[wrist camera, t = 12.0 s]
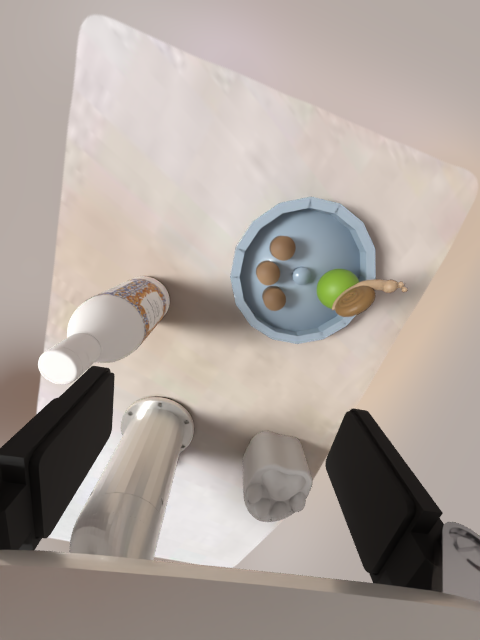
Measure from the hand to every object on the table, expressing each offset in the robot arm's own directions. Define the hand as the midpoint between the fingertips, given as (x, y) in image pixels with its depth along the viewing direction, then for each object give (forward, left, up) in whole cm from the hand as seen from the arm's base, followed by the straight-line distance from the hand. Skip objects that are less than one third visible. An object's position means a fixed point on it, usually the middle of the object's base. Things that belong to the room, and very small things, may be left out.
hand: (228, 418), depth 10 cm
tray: (+3, -9, -28) cm, 30 cm away
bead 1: (+6, -5, -27) cm, 28 cm away
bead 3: (-1, -6, -27) cm, 28 cm away
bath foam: (-5, +12, -28) cm, 31 cm away
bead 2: (+3, -4, -27) cm, 28 cm away
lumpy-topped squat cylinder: (-32, -14, -29) cm, 45 cm away
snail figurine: (+3, -14, -28) cm, 31 cm away
